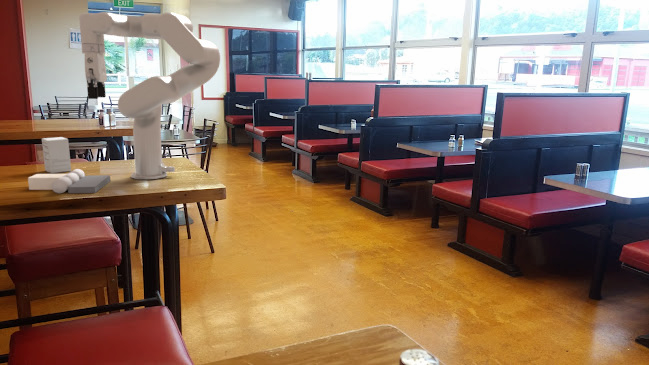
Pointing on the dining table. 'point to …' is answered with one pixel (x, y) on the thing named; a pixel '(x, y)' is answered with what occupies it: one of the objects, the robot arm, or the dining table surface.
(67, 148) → the supplement box
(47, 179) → the cream hinge flap
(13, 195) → the dining table surface
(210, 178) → the dining table surface
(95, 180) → the fixed leaf
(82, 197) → the dining table surface
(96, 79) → the robot arm
